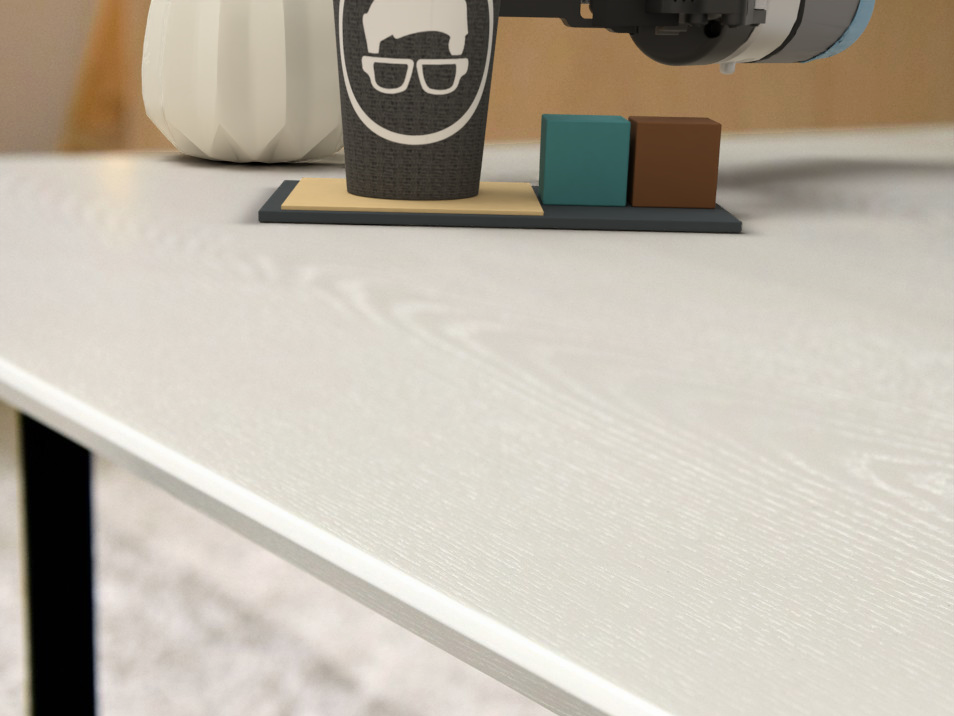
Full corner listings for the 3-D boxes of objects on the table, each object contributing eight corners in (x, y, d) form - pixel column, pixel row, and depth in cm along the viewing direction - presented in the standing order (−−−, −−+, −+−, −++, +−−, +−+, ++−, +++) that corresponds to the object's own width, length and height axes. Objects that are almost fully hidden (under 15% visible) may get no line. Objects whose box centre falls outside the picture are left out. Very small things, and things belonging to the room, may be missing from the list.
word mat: (698, 198, 86) (704, 111, 85) (741, 232, 74) (749, 131, 73) (284, 189, 87) (283, 102, 85) (258, 221, 74) (257, 120, 73)
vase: (289, 176, 93) (288, -75, 89) (100, 159, 99) (91, -75, 95) (411, 158, 104) (415, -65, 100) (234, 144, 111) (231, -66, 106)
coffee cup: (549, 195, 80) (564, -133, 76) (415, 209, 74) (422, -149, 69) (410, 177, 87) (416, -126, 82) (275, 189, 80) (273, -140, 75)
